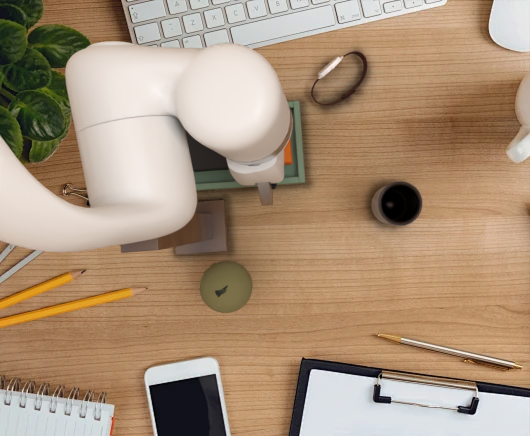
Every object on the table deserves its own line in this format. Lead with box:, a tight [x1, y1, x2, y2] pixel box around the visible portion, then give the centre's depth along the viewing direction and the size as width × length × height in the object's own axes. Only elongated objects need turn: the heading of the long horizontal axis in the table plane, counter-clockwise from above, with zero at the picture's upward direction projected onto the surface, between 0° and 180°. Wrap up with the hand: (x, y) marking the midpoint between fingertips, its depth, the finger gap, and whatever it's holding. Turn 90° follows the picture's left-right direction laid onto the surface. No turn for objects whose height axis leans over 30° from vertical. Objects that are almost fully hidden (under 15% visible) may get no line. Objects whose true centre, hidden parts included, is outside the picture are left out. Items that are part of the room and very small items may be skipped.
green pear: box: [199, 260, 254, 314], centre depth 67 cm, size 6×6×10 cm
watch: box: [310, 50, 368, 107], centre depth 70 cm, size 8×5×4 cm, turn 132°
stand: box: [120, 199, 229, 256], centre depth 60 cm, size 6×6×24 cm
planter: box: [370, 180, 423, 227], centre depth 67 cm, size 4×4×10 cm
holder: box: [193, 100, 307, 192], centre depth 71 cm, size 14×9×2 cm, turn 94°
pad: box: [185, 130, 229, 172], centre depth 70 cm, size 5×5×3 cm
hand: (269, 144), depth 71 cm, fingers closed on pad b, 4 cm apart
